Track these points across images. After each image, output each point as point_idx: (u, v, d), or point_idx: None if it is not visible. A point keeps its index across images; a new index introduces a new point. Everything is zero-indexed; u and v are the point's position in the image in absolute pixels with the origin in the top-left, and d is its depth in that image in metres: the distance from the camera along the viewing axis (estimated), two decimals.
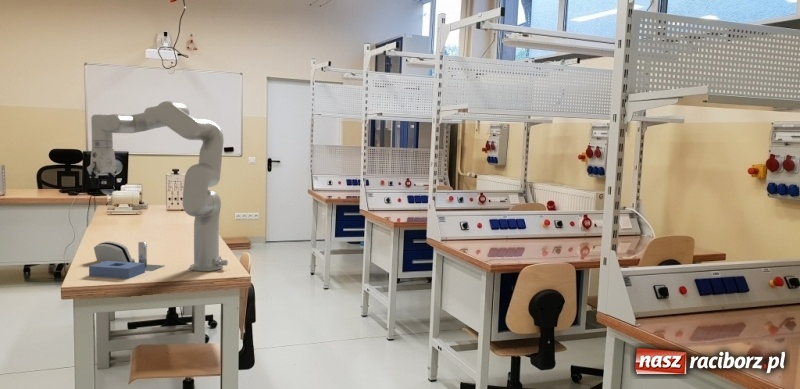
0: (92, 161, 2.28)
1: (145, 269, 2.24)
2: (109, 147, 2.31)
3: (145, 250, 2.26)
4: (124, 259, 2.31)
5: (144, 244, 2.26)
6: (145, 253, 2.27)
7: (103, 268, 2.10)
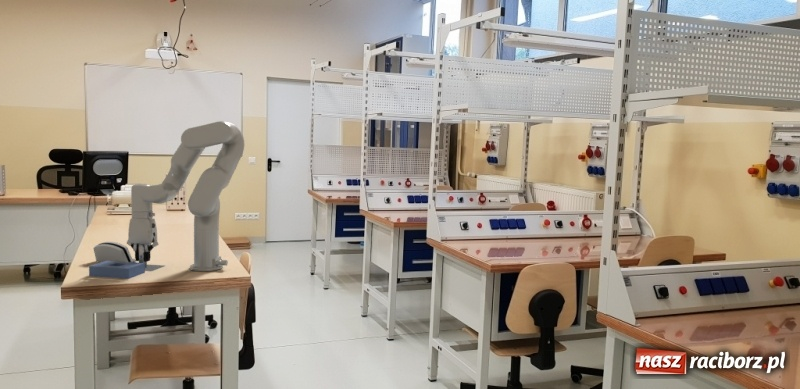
0: (152, 232, 2.25)
1: (145, 269, 2.24)
2: None
3: None
4: (125, 259, 2.31)
5: None
6: None
7: (103, 268, 2.10)
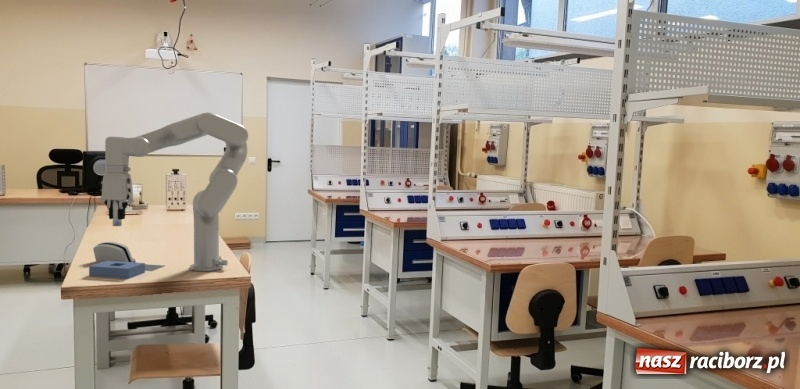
0: (127, 188, 2.11)
1: (145, 269, 2.24)
2: None
3: None
4: (125, 259, 2.31)
5: (118, 201, 2.12)
6: None
7: (103, 268, 2.10)
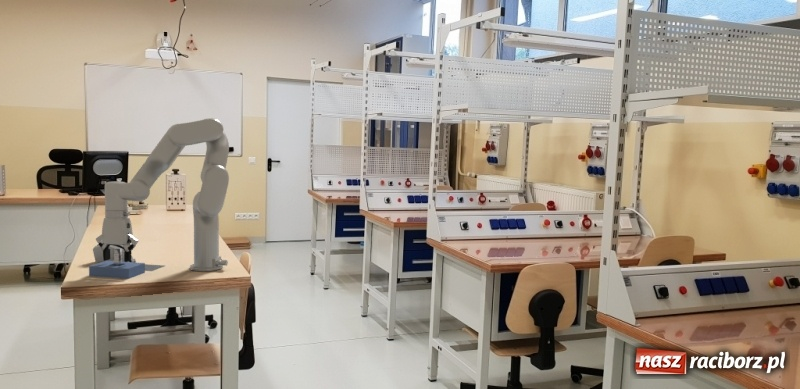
0: (127, 232, 2.12)
1: (145, 269, 2.24)
2: None
3: (120, 257, 2.14)
4: None
5: (119, 251, 2.13)
6: (120, 260, 2.14)
7: (103, 268, 2.10)
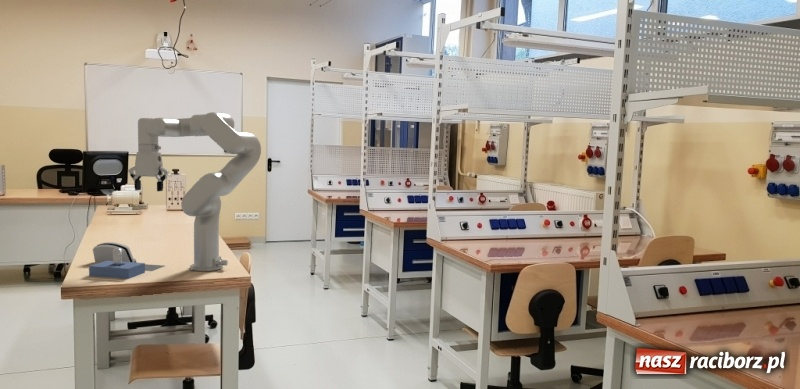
0: (158, 165, 2.30)
1: (145, 269, 2.24)
2: None
3: (120, 257, 2.14)
4: (127, 259, 2.31)
5: (119, 251, 2.13)
6: (120, 260, 2.14)
7: (103, 268, 2.10)
